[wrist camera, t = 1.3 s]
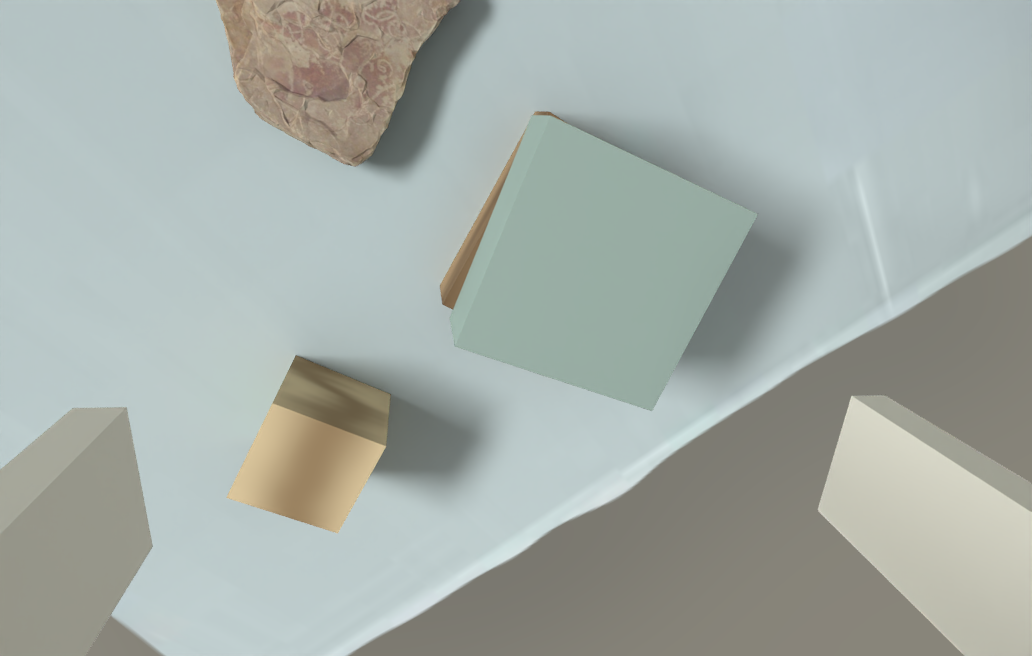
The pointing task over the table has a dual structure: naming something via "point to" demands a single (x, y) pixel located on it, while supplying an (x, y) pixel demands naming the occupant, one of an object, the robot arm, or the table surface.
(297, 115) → the stone
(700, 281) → the tower top
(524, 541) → the table surface
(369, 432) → the oak block
